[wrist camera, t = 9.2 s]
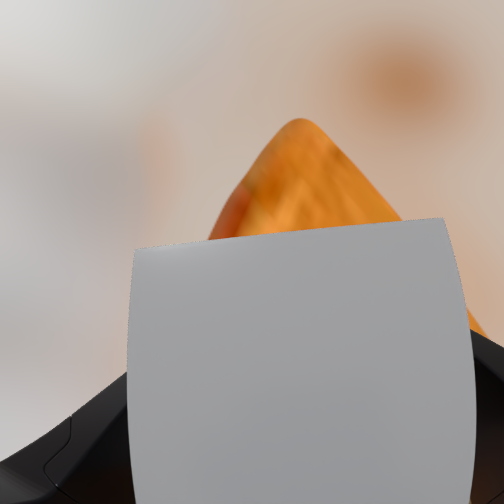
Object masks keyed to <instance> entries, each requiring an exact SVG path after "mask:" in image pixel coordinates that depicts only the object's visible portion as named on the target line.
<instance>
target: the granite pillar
mask: <svg viewBox="0 0 504 504" xmlns="http://www.w3.org/2000/svg"><path fill="white" fill-rule="evenodd" d="M128 321H129V322H128V344H127V408H128V430H129V444H130V457H131V467H132V476H133V484H134V492H135V499H136V504H469V499H470V493H471V486H472V479H473V470H474V459H475V444H476V387H475V371H474V360H473V350H472V342H471V334H470V327H469V321H468V315H467V309H466V304H465V299H464V294H463V289H462V284H461V280H460V276H459V272H458V267H457V263H456V260H455V256H454V252H453V249H452V245H451V241H450V238H449V235H448V232H447V228H446V225H445V222H444V219H443V218H432V219H420V220H408V221H396V222H385V223H374V224H363V225H352V226H342V227H331V228H321V229H311V230H301V231H291V232H281V233H272V234H262V235H253V236H244V237H235V238H226V239H217V240H208V241H199V242H190V243H182V244H173V245H165V246H157V247H148V248H140V249H135V252H134V261H133V271H132V280H131V292H130V305H129V320H128Z"/></svg>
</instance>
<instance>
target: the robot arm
mask: <svg viewBox="0 0 504 504" xmlns="http://www.w3.org/2000/svg"><path fill="white" fill-rule="evenodd" d="M470 334H471V342H472V350H473V360H474V371H475V387H476V444H475V459H474V470H473V479H472V486H471V493H470V500H471V504H504V348H503V347H502V346H500V345H498V344H496V343H495V342H493V341H491V340H489V339H487V338H486V337H484V336H482V335H480V334H478V333H476V332H475V331H473V330H471V329H470ZM0 504H136V499H135V492H134V484H133V476H132V467H131V457H130V444H129V430H128V408H127V372H125V373H124V374H123V375H122V376H120V377H119V378H118V379H117V380H115V381H114V382H113V383H112V384H110V385H109V386H108V387H106V388H105V389H104V390H103V391H101V392H100V393H99V394H98V395H96V396H95V397H94V398H92V399H91V400H90V401H89V402H87V403H86V404H85V405H83V406H82V407H81V408H80V409H78V410H77V411H76V412H75V413H73V414H72V416H69V417H68V418H67V419H65V420H64V421H63V422H61V423H60V424H59V425H57V426H56V427H55V428H53V429H52V430H51V431H49V432H48V433H46V434H45V435H43V436H42V437H40V438H39V439H37V440H36V441H34V442H33V443H31V444H29V445H28V446H26V447H24V448H23V449H21V450H20V451H18V452H16V453H15V454H13V455H11V456H10V457H8V458H6V459H5V460H3V461H1V462H0Z"/></svg>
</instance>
